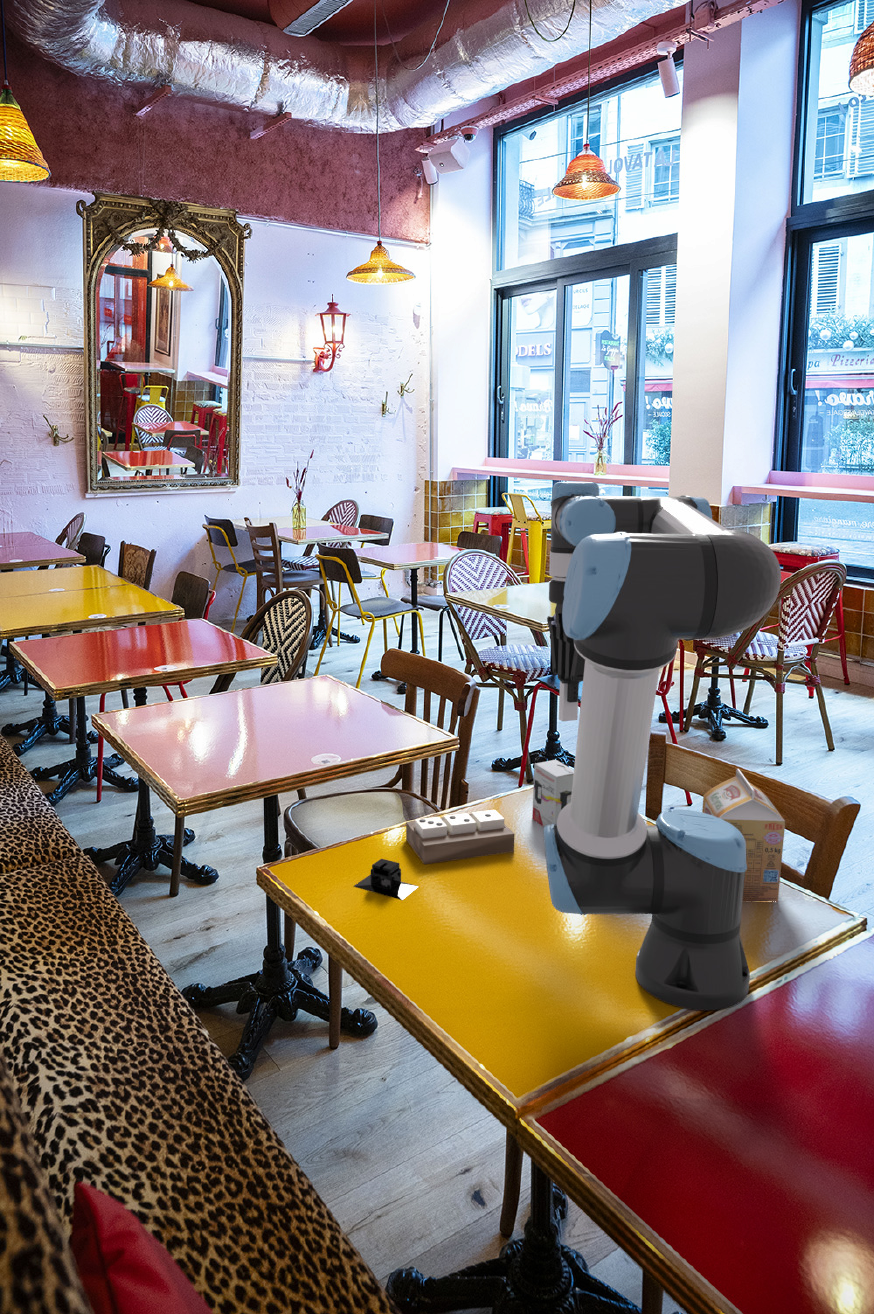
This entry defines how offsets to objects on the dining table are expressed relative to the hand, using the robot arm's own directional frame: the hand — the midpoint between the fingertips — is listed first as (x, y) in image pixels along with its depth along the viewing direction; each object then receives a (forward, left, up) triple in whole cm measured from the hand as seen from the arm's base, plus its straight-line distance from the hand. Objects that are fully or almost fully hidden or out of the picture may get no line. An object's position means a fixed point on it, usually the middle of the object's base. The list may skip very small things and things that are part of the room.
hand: (568, 719), depth 159 cm
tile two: (+15, +14, -26) cm, 33 cm away
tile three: (+15, +19, -26) cm, 36 cm away
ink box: (+18, -7, -27) cm, 33 cm away
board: (+15, +14, -27) cm, 34 cm away
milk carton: (-15, -25, -27) cm, 40 cm away
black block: (+3, +31, -28) cm, 42 cm away
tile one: (+15, +8, -26) cm, 31 cm away
